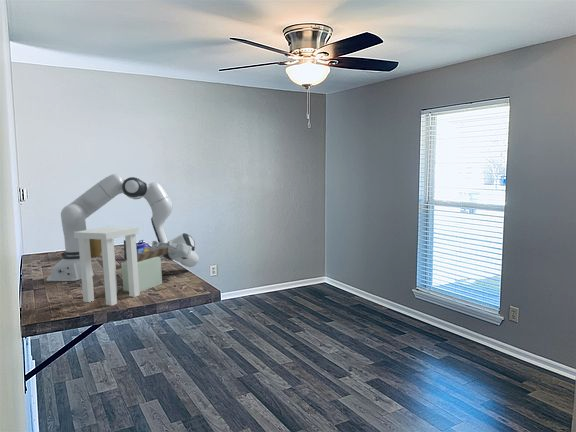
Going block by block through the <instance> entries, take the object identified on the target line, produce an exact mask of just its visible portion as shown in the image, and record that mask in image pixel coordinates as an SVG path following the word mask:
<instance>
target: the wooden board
mask: <svg viewBox="0 0 576 432" xmlns="http://www.w3.org/2000/svg"><path fill="white" fill-rule="evenodd" d="M164 254H168V248H167V247H162V248H158V249H154V250H153V249H151V250H149V251H147V252H143V253H139V254H137V262H140V261H143V260H147V259H150V258H154V257H161V256H163V255H164Z"/></svg>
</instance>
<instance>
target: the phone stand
mask: <svg viewBox="0 0 576 432" xmlns="http://www.w3.org/2000/svg"><path fill="white" fill-rule="evenodd" d="M123 251H124V252H123V254H124V256H123V257H124V259H125V260H126V261H127V255H126V241H125V240H123Z"/></svg>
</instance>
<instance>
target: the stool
mask: <svg viewBox="0 0 576 432" xmlns="http://www.w3.org/2000/svg"><path fill="white" fill-rule="evenodd" d="M139 233H140V232H139V227H138V226H137V227H135V226H132V227H131V226H102V227H96V228H91V229H87V230H84V231H78V232H74V238H78V243H79V255H80V267H81V279H80V280H81V289H82V299H83V300H82V302H83V303H87V302H89V303H91V301H92V302H95V294H94V293H95V292H94V282H93V281H94V278H93V276H92V270H93V267H92V266H93V265H92V257H91V253H90V241H89V239H101V246H102V251H101V255H102V269H103V279H104V280H103V281H104V282H103V283H104V293H105V294H104V295H105V297H104V298H105V305H106V306H111V307H112V306H114V305H117V304H118V295H117V293H118V281H117V279H118V278H117V268H116V265H117V264H116V254H115V252H116V251H115V241H114V239H117V238H121V237H125V241H126V255H127V260H126V262H127V269H128V283H129V291H128V294H129V297H132V298H133V297H134V298H135V297H136V298H137V297H139V296H140V293H141V292H139V278H138V264H137V250H136V244H137V239H136V238H137V237H136V235H137V234H139Z"/></svg>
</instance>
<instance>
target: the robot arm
mask: <svg viewBox="0 0 576 432" xmlns="http://www.w3.org/2000/svg"><path fill="white" fill-rule="evenodd" d="M120 194H124V195H125V196H126V197H128V198H129V199H132V200H140V199H142V198H143V199H145V201H147V203H148V205H149V206H150V207H149V208H150V209H151V213H152V214H151V215H152V216H151V217H150V218H151V219H150V221H151V225H152V228H153V231H154V234H155V237H156V239H157V241H156V240H152V243H151V244H152V245H151V250H154V249H158V248H162V247H167V248H168V254H164V255H162V257H163V258H164V259H166V260H169V261H175V262H177V263H180V264H181V265H182V266H185V267H188V268H193V267H195V266H196V265H197V264H198V263H199V260H200V257H199V255H198V253H196V251H195V249H196V242H195V240H194V238H193V237H192V236H191V235H190V234H189V233H181V234H180V235H177V236H176V237H173V238H172V239H171V240H168V238H167V235H166V232H165V229H164V223H165V222H166V220H167V219H168V217H170V216H171V213H172V211H173V203H172V200H171V198H170V197H169V195H168V193H167V192H166V190H165V189H164V187H163V186H162V185H161V184H160V183H159V182H155V181H153V182H150V183H146V182H144V181H143V180H141V179H140V178H137V177H134V176H131V177H130V176H129V177H128V178H126V179H124V178H123V177H122V176H121V175H119V174H117V173H113V174H110V175H107V176H105V177H104V178H103V179H101V180H99V181H98V182H96V183H95V184H94V185H93V186H91V187H90V188H89V189H87V190H86V191H85V192H84V193H82V194H81V195H79V197H77V198H75V199H74V200H73V201H71V202H70V203H69V204H67V205H65V206H64V207H63V208H62V209H61V212H60V219H61V226H62V232H63V237H64V248H65V251H63V252H62V253H61V254H60V257H62V259H61V260H59V261H58V262H57V263H56V264H54V265H53V266H52V268H51V271H50V275H49V276H47V277H46V282H75V281H78V280H79V281H80V280H82V279H81V267H80V255H79V243H78V238H74V232H78V231H84V230H88V229H87V224H86V219H87V218H89V217H90V216H91V215H93V214H94V213H96V212H97V211H99V210H100V209H101V208H102V207H103V206H105V205H106V204H107V203H109V202H110V201H112V200H113V199H114V198H116V197H117V196H119V195H120ZM94 276H95V273H94V271H93V269H92V277H94Z"/></svg>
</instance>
